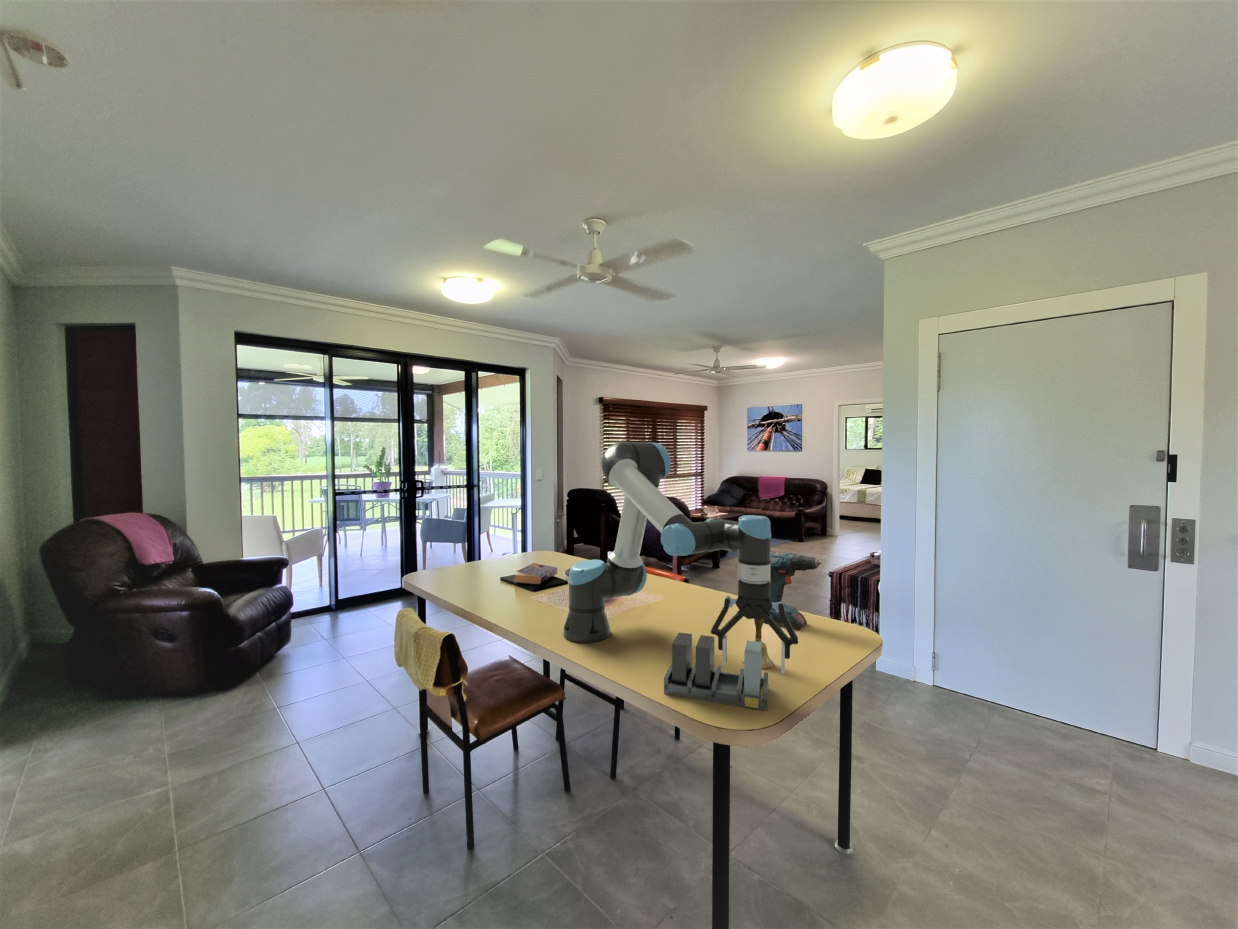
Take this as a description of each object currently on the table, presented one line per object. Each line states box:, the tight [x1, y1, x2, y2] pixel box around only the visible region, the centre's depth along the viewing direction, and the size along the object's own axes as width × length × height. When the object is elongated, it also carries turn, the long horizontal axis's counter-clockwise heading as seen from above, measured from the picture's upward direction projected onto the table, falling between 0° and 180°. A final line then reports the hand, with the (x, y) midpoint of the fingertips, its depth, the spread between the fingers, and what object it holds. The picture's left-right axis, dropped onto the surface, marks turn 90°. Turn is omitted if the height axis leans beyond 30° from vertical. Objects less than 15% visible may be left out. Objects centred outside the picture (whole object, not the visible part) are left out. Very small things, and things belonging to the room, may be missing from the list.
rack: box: [663, 631, 769, 711], centre depth 119 cm, size 24×12×12 cm, turn 71°
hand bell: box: [742, 619, 774, 670], centre depth 136 cm, size 8×8×16 cm
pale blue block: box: [743, 640, 763, 697], centre depth 116 cm, size 4×8×11 cm, turn 161°
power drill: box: [763, 550, 822, 631], centre depth 167 cm, size 9×23×25 cm, turn 53°
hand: (753, 667), depth 116 cm, fingers open, 13 cm apart
